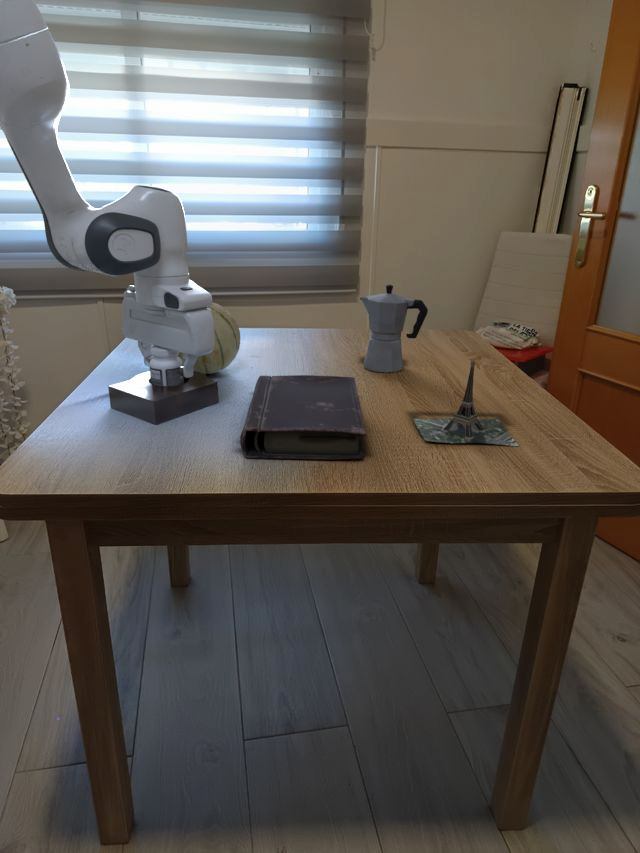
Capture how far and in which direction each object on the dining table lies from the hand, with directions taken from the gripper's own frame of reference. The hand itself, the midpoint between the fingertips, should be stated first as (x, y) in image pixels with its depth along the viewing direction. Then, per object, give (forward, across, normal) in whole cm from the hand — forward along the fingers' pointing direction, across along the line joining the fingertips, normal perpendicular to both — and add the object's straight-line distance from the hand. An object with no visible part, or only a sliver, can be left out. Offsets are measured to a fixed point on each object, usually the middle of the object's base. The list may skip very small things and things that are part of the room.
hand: (168, 371), depth 101 cm
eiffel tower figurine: (+6, +47, +21) cm, 52 cm away
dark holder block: (+6, 0, -1) cm, 6 cm away
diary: (+6, +26, +6) cm, 27 cm away
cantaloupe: (+6, -8, +16) cm, 19 cm away
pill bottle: (+6, 0, 0) cm, 6 cm away
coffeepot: (+6, +19, +45) cm, 49 cm away
